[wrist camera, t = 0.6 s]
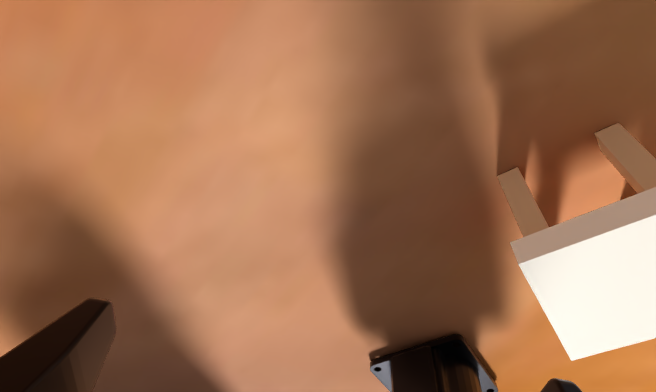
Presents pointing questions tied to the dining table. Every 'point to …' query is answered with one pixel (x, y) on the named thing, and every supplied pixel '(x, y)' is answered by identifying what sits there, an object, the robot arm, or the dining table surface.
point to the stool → (594, 256)
